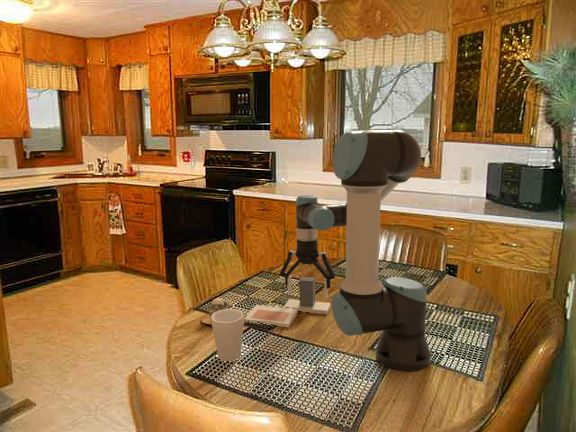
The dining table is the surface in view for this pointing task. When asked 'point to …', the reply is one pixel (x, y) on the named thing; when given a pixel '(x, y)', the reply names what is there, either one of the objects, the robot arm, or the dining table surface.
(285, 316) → the white flat piece
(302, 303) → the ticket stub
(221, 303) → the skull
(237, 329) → the foam cup
